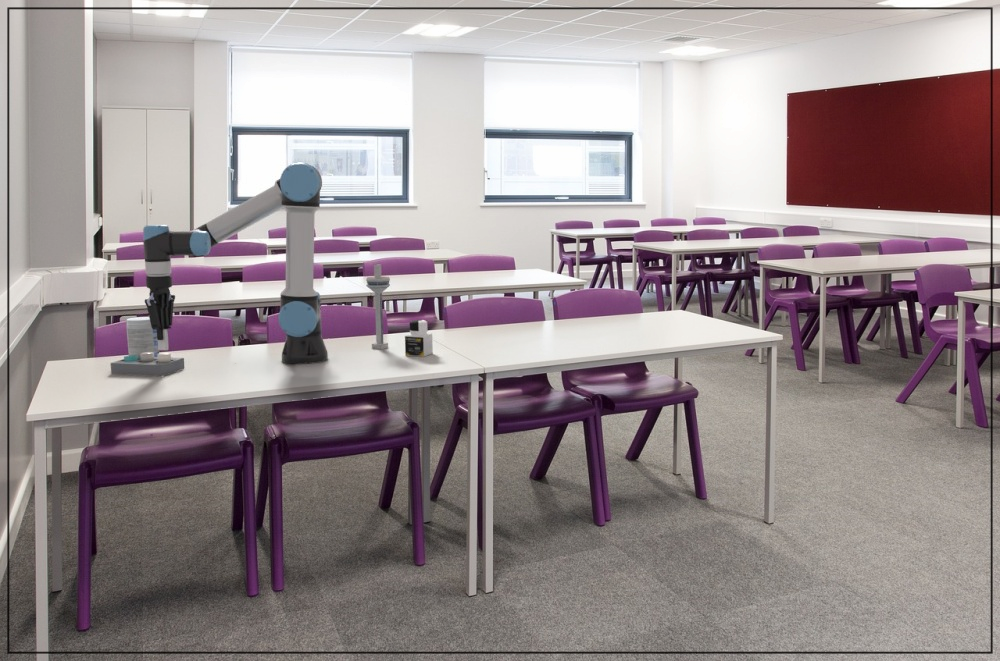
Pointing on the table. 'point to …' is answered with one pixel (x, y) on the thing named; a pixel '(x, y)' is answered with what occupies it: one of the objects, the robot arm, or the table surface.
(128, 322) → the supplement tub
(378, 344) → the model tower
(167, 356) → the ivory button
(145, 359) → the grey button
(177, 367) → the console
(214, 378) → the table surface
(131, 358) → the teal button
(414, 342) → the medicine bottle
